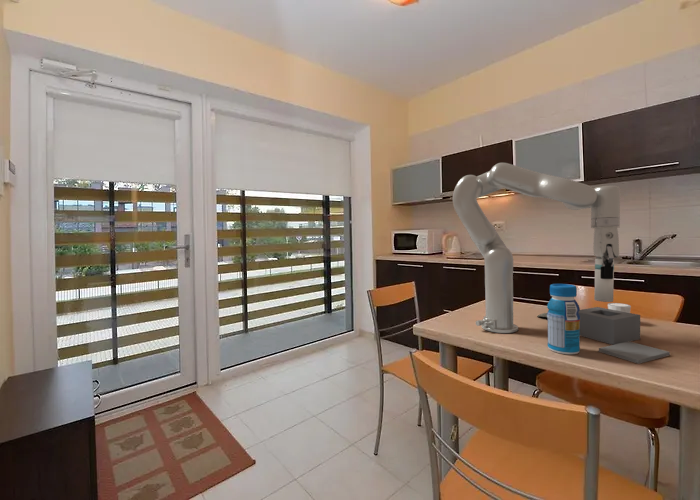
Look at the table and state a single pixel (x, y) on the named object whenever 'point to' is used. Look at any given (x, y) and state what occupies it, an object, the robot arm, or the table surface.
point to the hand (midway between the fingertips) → (604, 277)
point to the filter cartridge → (603, 284)
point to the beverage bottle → (563, 319)
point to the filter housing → (609, 325)
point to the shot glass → (619, 307)
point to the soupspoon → (543, 315)
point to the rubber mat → (634, 352)
